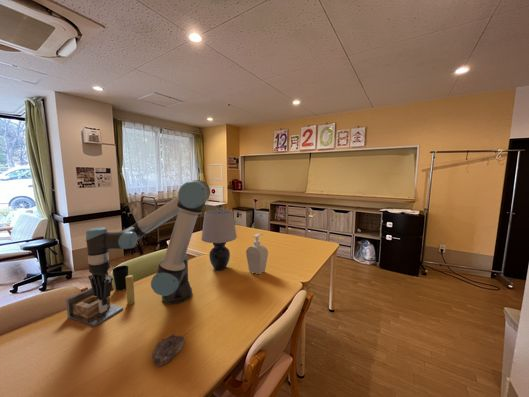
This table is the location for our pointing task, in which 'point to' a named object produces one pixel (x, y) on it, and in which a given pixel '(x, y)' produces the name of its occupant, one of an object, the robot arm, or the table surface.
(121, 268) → the cup
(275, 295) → the table surface
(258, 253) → the soap bottle
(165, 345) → the rock
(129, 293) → the dowel
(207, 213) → the lamp
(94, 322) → the dark grey angled piece
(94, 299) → the block
